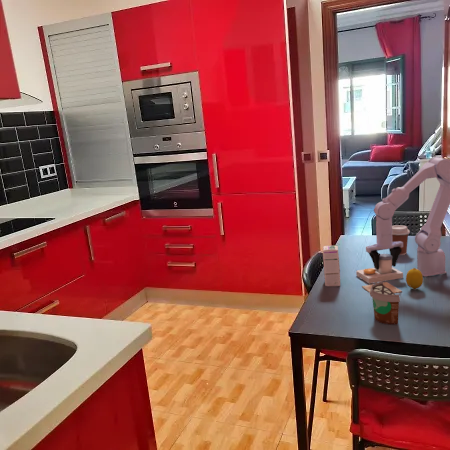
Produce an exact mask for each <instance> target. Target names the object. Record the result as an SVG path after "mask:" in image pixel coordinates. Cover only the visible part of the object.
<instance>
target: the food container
mask: <svg viewBox="0 0 450 450" xmlns="http://www.w3.org/2000/svg"><path fill="white" fill-rule="evenodd" d="M383 282H384V281H382V282H376V283H372V284H373V285H372V284H371V285H372V287H371V290H370V293H369V295H370V297H371V298H372V306H373V307H372V309H373V315H374V320H375V321H376V322H378V323H381V324H384V325H388V326H389V325H392V326H395V325H396V326H397V325H399V312H400V310H399V309H400V302H401V298H400V293H397V294H396V293H395V294H394V293H393V292H392V291H391V290H390V289H389V288H387V287H385V286H384V285H383Z"/></svg>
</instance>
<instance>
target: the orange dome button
mask: <svg viewBox="0 0 450 450" xmlns="http://www.w3.org/2000/svg"><path fill="white" fill-rule="evenodd" d="M375 272H376V270H375V269H369V268H364V273H366V275H374V273H375Z"/></svg>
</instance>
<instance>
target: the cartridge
mask: <svg viewBox="0 0 450 450" xmlns="http://www.w3.org/2000/svg"><path fill="white" fill-rule="evenodd" d="M379 254H380V257H379V269H378V273H380V274H382V275H383V274H388V273H392V267H393V266H392V255H390V253H389V254H388V253H379Z"/></svg>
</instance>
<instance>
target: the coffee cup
mask: <svg viewBox="0 0 450 450" xmlns="http://www.w3.org/2000/svg"><path fill="white" fill-rule="evenodd" d="M410 232H411V231H410V229H408V226H406V225H399V224H395V225H392V242H398V241H401V242H403V247H400V248H401V249H402V252H401V253H400V255H399V256H405V254H406V255H407V252H408V239H409V234H410Z"/></svg>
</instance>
